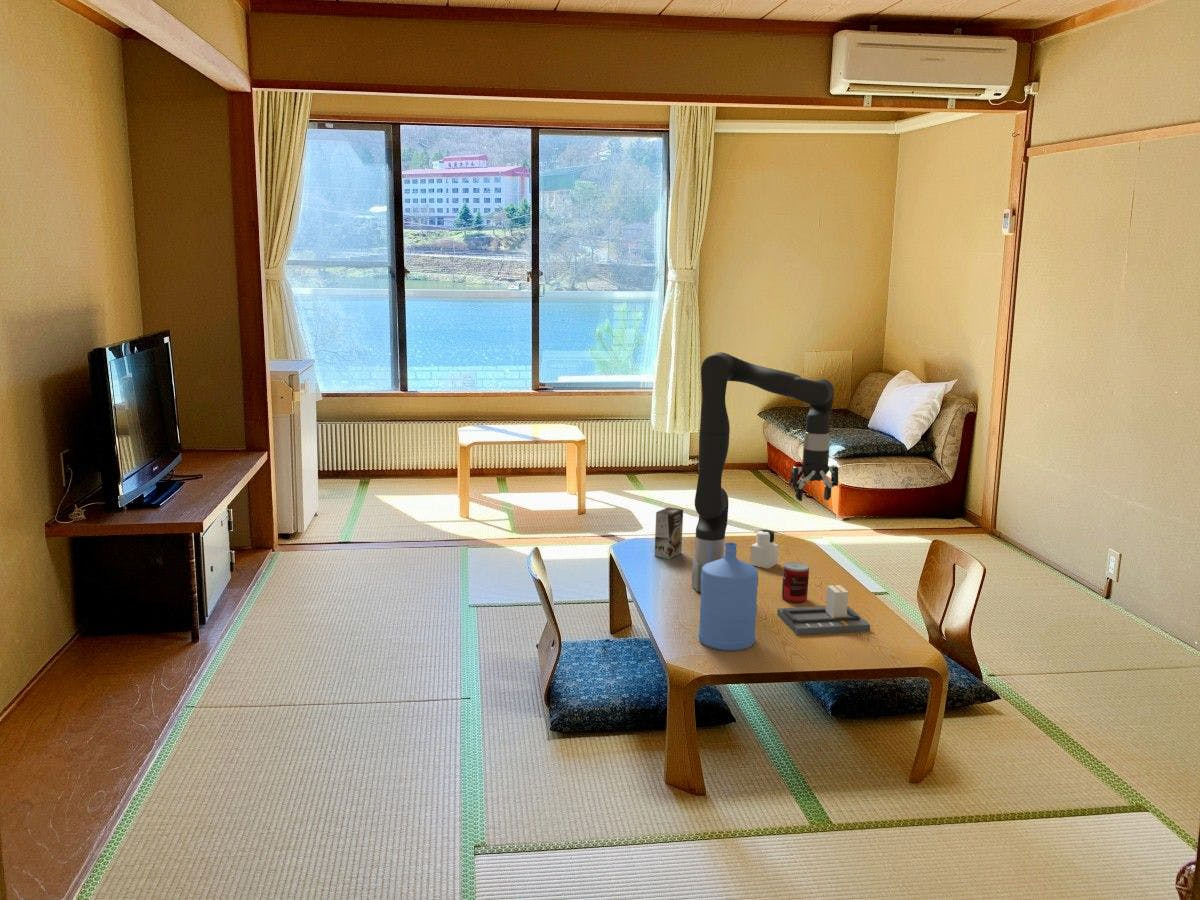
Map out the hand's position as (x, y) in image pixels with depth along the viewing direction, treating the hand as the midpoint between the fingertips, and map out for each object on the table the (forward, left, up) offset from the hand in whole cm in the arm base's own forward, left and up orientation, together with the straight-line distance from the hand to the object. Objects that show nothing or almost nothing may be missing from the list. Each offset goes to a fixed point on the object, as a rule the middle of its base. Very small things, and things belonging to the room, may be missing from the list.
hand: (813, 500), depth 302 cm
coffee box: (-30, +54, -33) cm, 70 cm away
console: (-1, -15, -33) cm, 36 cm away
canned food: (-2, +5, -33) cm, 34 cm away
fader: (+3, -15, -31) cm, 34 cm away
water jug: (-33, -24, -33) cm, 53 cm away
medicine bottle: (0, +39, -33) cm, 51 cm away
